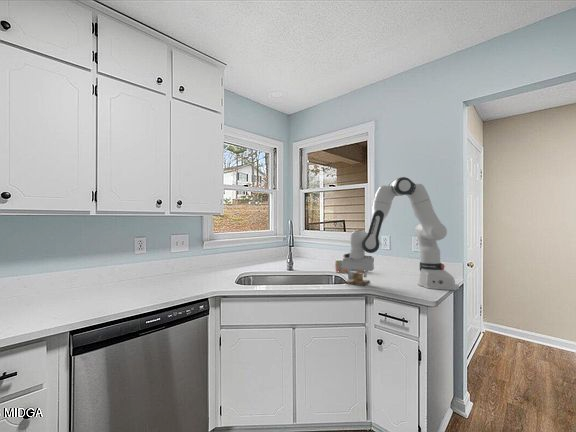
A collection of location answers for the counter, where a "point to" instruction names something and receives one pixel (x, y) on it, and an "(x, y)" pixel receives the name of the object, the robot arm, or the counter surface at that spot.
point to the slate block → (352, 274)
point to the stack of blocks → (339, 267)
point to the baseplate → (358, 282)
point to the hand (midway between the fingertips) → (357, 276)
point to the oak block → (357, 277)
